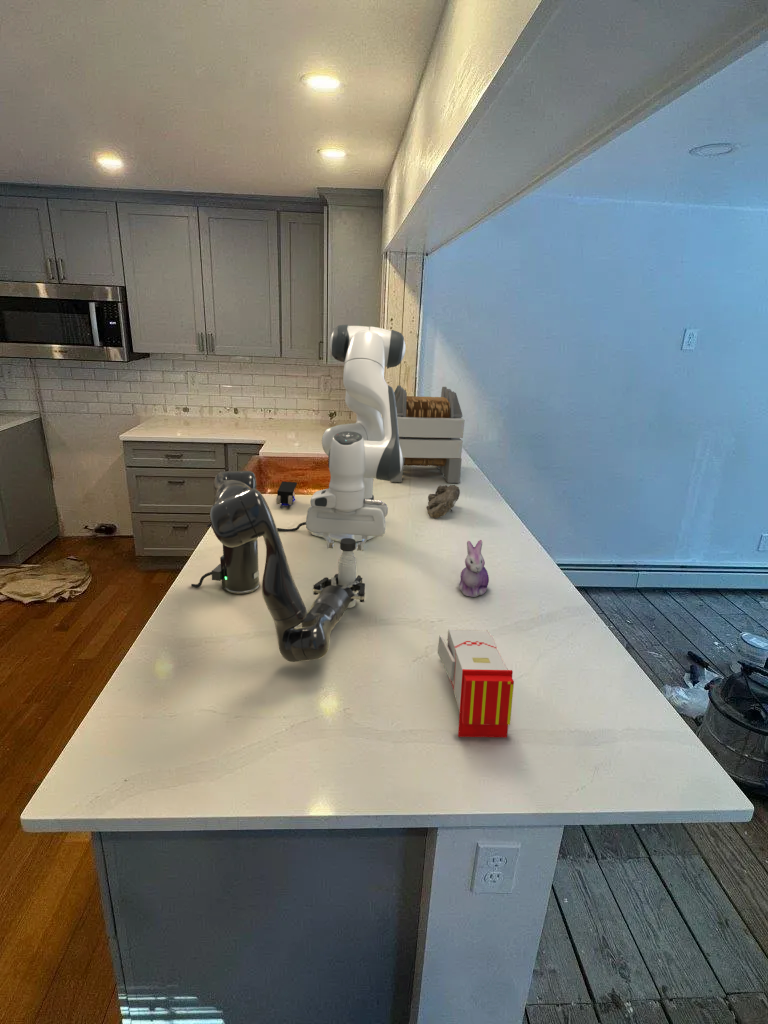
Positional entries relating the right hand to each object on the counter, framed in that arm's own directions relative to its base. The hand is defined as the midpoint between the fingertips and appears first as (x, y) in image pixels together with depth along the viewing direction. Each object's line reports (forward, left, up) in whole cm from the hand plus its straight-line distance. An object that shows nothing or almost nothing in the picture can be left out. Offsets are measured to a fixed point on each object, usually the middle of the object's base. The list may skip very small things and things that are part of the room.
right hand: (345, 548), depth 146 cm
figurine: (+32, +20, -16) cm, 41 cm away
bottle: (0, 0, -16) cm, 16 cm away
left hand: (0, +3, -9) cm, 10 cm away
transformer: (-9, +134, -16) cm, 135 cm away
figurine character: (-48, +67, -16) cm, 84 cm away
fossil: (+11, +84, -16) cm, 86 cm away
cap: (0, 0, +2) cm, 2 cm away
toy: (+37, -26, -16) cm, 48 cm away
